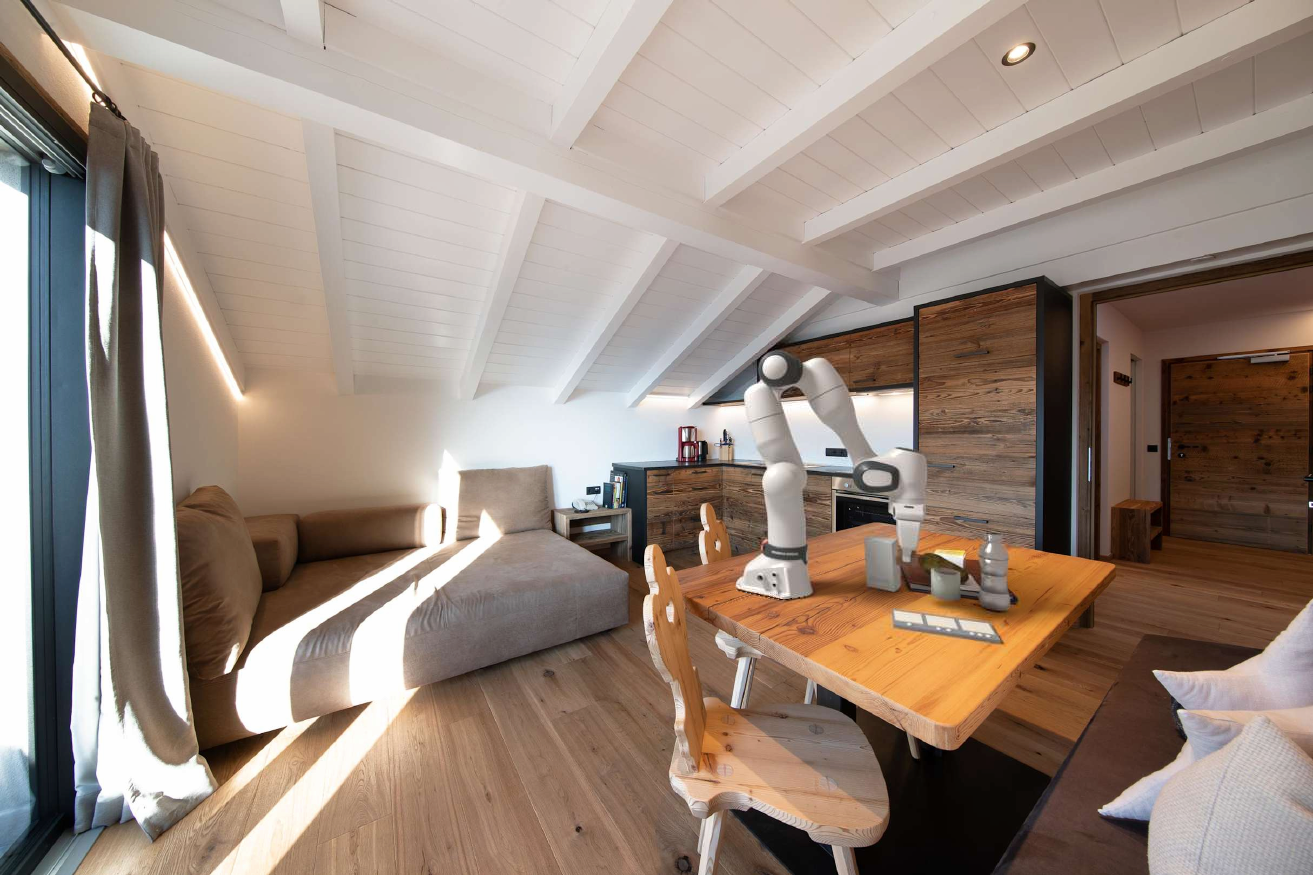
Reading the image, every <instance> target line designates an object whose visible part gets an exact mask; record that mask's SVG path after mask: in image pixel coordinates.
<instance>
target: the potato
mask: <svg viewBox="0 0 1313 875" xmlns="http://www.w3.org/2000/svg"><path fill="white" fill-rule="evenodd" d="M917 563H918V565H919V567H920V569H921V570H922V571H923V572H924V573H925V574H927V575H929V576H931V569H932V568H948V569H952V570H956V571H958V572H960V584H964V583H966V582H968V581H969V580H970V575H969V572H968V571H967V569H965V568H964V567H962V566H960V565H958V564H956V563H954V562H952V561H950V560H949V559H947V558H945V557H944V556H943V555H942V556H941V555H940V554H937V553H932V552H925V553H922V554H921V555H919V557H918V559H917Z"/></svg>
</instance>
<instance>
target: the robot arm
mask: <svg viewBox="0 0 1313 875" xmlns="http://www.w3.org/2000/svg"><path fill="white" fill-rule="evenodd" d="M757 373H758V376H759V378H760V381H758V382H757V383H755V384H752V385H750V386H749V387H748V388H747V389H746V390H745V391H744V394H743V399H744V409H745V413H746V417H747V418H746V419H747V421H748V424H749V428H750V431H751V435H752V437H753V440H754V441H753V442H754V443H755V448H756V449H757V451H758V453H759V454H760V456H761V458H762V460H763V463H764V465H765V466H766V467H765V468H766V470H765V472H764V473H763V476H762V480H761V483H762V484H761V485H762V489H763V496H764V497H763V498H764V502H765V509H766V517H767V538H765V539H764V540H763V541H762V542H761V546H760V550H761V553H760V554H759V555H758V556H756V557H755V558H753V559H752V560H751V561H749V562H748V563H747V564H746V565H745V568H744V570H743V571H744V572H743V576H740V577H739V578H738V580H736V583H735V588H736V587H737V588H738V589H742V590H745V591H750V592H754V593H759V594H764V595H769V596H773V597H776V598H780V599H789V598H792V599H799V598H798V597H800V598H805V597H808V596H811V594H813V587H812V584H811V580H810V575H809V570H808V568H809V567H808V563H809V547H808V544H807V534H806V533H807V529H806V528H807V526H806V525H807V524H806V521H807V520H806V519H807V517H806V514H805V507H804V506H805V505H804V494H803V490H804V489H805V488H806V485H807V484H808V473H807V470H806V467H805V464H804V462H803V460H802V457H801V455H800V452H799V450H798V448H797V445H796V442H795V441H794V439H793V435H792V431H791V430H790V426H789V423H788V419H787V417H786V413H785V410H784V408H783V404H782V398H781V396H783V395H785V394H786V393H788V392H789V391H791V390H792V389H793V388H795V387H796V388H798V389H800V391H801V392H802V393H803V395H804V396H805V399H806V401H807V403H808V405H809V406H810V408H811V410H812V411H813V412H814V414H815V415H816V417H817V418H818V419H819V420H820V422H822V424H824V425H825V426H826V427H828V428H829V429H831V430H832V431H833V432H834V433H835V434H836V435H837V437H839V440H840V442H842V444H843V446H844V448H845V450H846V451H847V453H848V456H849V457H850V460H851V462H852V466H853V470H852V482H853V483H854V485H855V487H856V488H857V489H858V490H860V491H862V492H864V493H866V494H870V495H871V494H874V495H876V494H880V493H888V508H887V509H888V513H889V514H891V515H892V517H893V520H895V521H896V524H895V530H896V532H895V533H896V535H897V539H898V544H899V545H900V546H901V548H902V560H903V561H904V562H910V556H911V551H912V550H914V551H915V550H916V551H917V550H918V547H919V543H920V542H919V541H920V535H921V526H922V522H924V520H925V517H927V516H926V515H927V493H926V486H927V483H928V466H927V465H928V464H927V459H926V456H925V454H924V453H922V452H921V451H919V450H917V449H912V448H908V447H901V446H900V447H899V446H896V447H894V448H892V449H890V450H889V451H887V452H884V453H883V454H879V455H878V454H877V453H875V451H873V449H872V448H871V445H870V444H869V442H868V440H867V438H866V437H865V435H864V433H863V431H862V430H861V428H860V425H859V423H858V419H857V414H856V408H855V404H854V402H853V398H852V396H851V393H850V391H849V389H848V387H847V385H846V384H845V383H846V382H844V380H843V379H842V377H841V376H840V374H839V372H837V369H835V367H834V366H833V365H832V364H831V363H830V362H829V360H828V359H826V358H823V357H814V358H811V359H809V360H807V361H804V362H803V361H802V360H801V359H800V358H798V357H796V356H794V355H792V353H789V352H787V351H784V350H778V349H776V350H772V351H769V352H767V353H766V354H765V355H763V356H762V358H761V359H760V361H759V363H758V372H757ZM804 596H805V597H804ZM789 600H790V599H789Z"/></svg>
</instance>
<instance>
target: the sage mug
mask: <svg viewBox="0 0 1313 875" xmlns="http://www.w3.org/2000/svg"><path fill="white" fill-rule="evenodd" d="M930 594H931V595H932V596H933V597H934V598H936V599H941V600H945V601H954V602H955V601H959V600H961V583H960V572H958V571H956V570H952V569H948V568H932V569H931V575H930Z"/></svg>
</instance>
